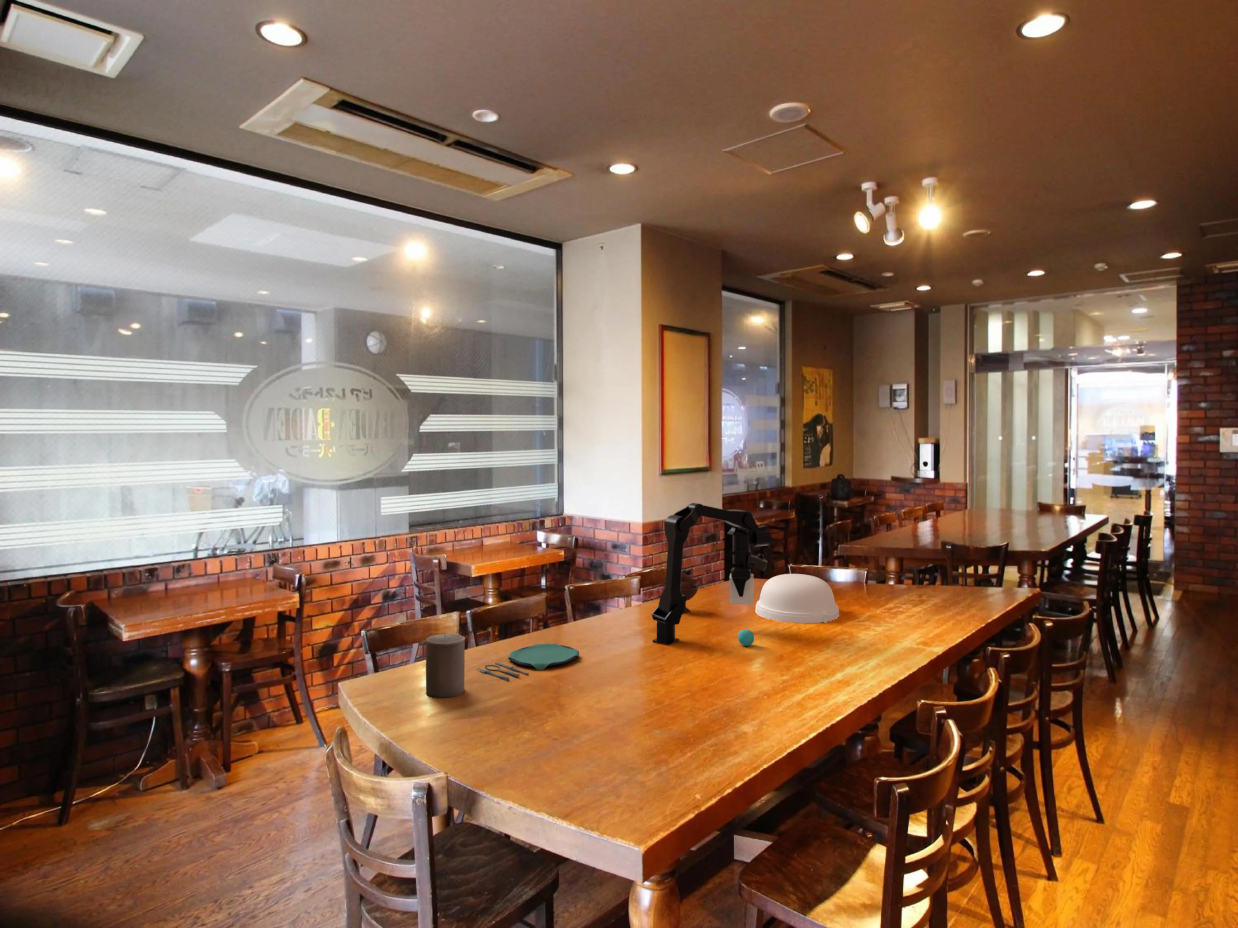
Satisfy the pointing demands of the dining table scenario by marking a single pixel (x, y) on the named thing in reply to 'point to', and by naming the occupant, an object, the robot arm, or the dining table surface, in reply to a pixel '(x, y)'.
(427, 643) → the pillar candle
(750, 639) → the ball
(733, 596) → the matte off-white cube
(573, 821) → the dining table surface
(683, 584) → the ice cream bowl
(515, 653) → the cutlery set
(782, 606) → the dome cover
